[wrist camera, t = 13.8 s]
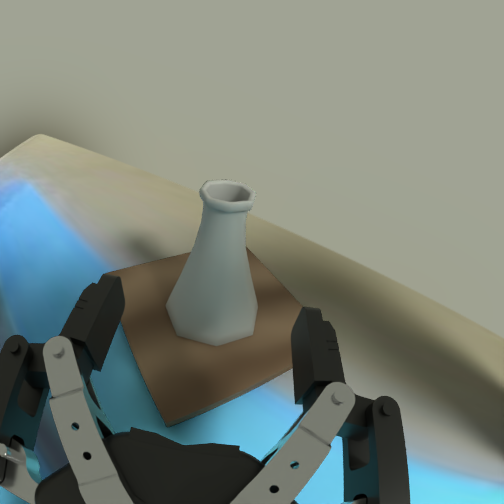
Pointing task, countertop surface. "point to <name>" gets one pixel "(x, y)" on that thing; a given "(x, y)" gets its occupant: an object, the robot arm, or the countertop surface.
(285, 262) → the countertop surface
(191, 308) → the flask
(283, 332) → the walnut board
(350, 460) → the robot arm
